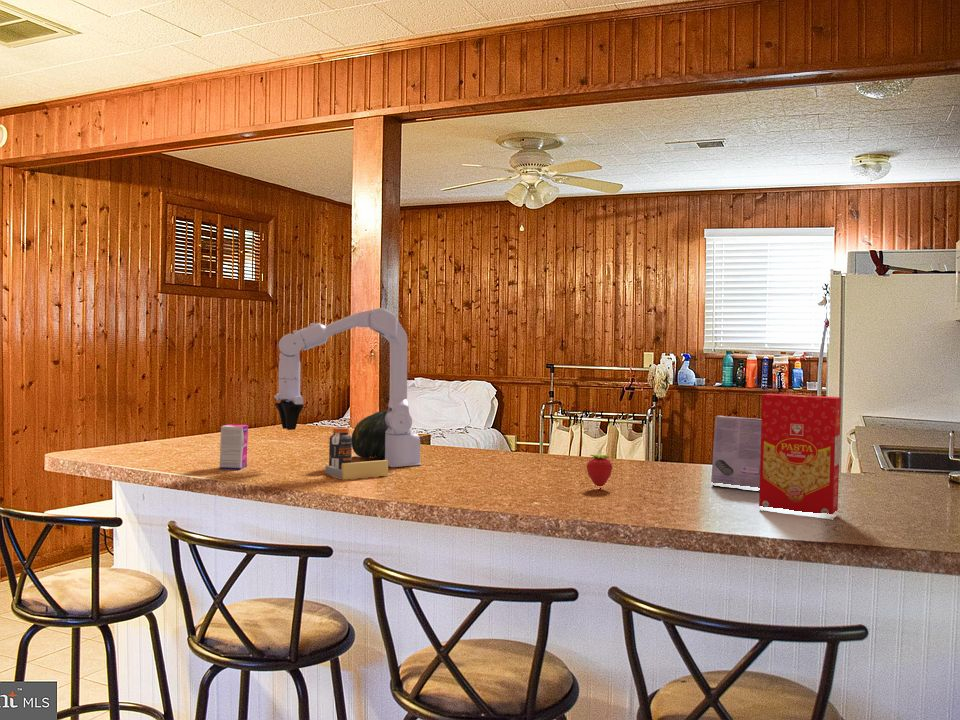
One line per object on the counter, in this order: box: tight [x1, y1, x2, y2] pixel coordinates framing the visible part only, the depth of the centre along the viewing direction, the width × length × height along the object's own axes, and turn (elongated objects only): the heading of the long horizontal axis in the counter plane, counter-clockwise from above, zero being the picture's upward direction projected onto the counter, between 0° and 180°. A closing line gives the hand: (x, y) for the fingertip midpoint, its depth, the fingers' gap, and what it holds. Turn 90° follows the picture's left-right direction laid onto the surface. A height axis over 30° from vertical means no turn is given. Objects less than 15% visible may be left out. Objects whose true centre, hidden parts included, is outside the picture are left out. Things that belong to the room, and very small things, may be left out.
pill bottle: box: [328, 426, 353, 470], centre depth 217 cm, size 6×6×11 cm
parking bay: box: [324, 459, 389, 481], centre depth 209 cm, size 12×11×4 cm
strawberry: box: [586, 449, 613, 487], centre depth 195 cm, size 6×8×10 cm
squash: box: [351, 409, 388, 460], centre depth 238 cm, size 14×15×15 cm
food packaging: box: [758, 393, 842, 514], centre depth 171 cm, size 15×5×25 cm, turn 56°
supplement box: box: [219, 423, 249, 471], centre depth 216 cm, size 6×6×12 cm
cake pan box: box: [710, 415, 761, 488], centre depth 198 cm, size 19×5×18 cm, turn 59°
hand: (289, 429), depth 218 cm, fingers open, 3 cm apart
